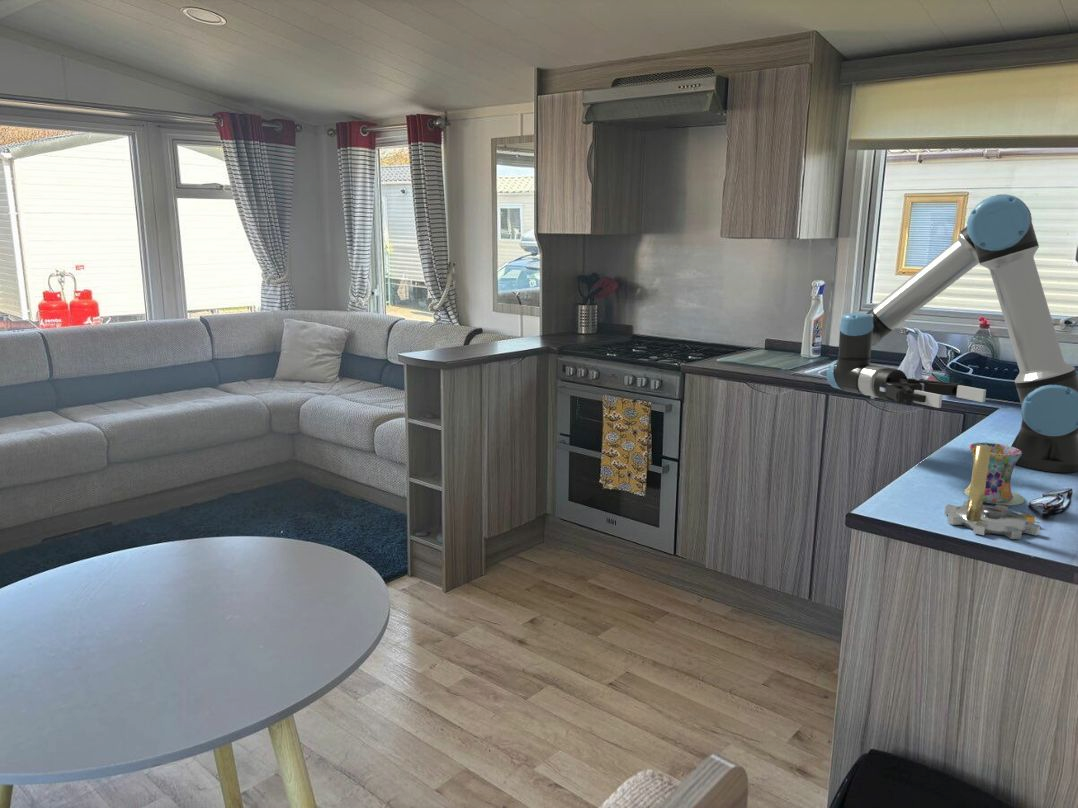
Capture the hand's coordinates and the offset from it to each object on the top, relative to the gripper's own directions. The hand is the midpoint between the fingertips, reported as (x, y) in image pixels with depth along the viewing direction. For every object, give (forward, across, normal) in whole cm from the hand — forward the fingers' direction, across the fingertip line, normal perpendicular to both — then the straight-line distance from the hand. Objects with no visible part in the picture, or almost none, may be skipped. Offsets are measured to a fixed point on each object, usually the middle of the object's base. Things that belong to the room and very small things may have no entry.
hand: (962, 398), depth 172 cm
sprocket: (+20, +16, -19) cm, 32 cm away
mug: (+10, +3, -19) cm, 21 cm away
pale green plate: (+10, 0, -19) cm, 21 cm away
